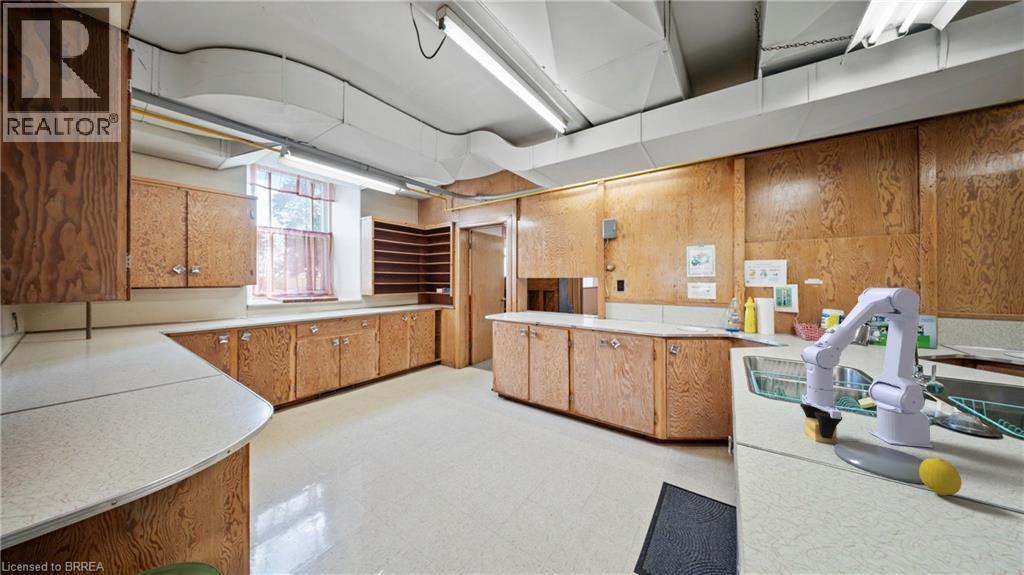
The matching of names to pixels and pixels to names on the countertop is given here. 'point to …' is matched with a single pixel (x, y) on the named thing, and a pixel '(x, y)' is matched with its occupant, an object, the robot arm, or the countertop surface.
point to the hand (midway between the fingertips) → (820, 433)
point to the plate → (880, 461)
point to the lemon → (940, 476)
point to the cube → (817, 431)
